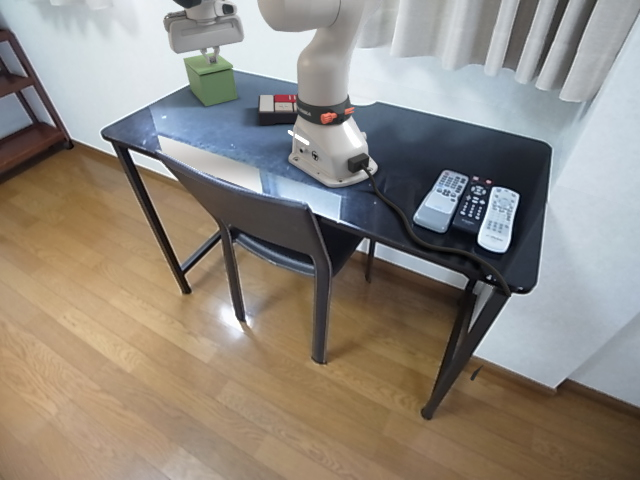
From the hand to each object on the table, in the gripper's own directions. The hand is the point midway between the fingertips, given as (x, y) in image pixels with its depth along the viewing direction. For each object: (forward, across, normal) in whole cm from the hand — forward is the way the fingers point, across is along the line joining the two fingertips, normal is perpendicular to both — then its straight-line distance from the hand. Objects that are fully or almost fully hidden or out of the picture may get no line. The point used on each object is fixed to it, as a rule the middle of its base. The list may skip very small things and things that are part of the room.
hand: (212, 63), depth 106 cm
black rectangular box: (+11, +12, -19) cm, 25 cm away
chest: (+11, 0, +5) cm, 12 cm away
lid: (+2, 0, +5) cm, 5 cm away
